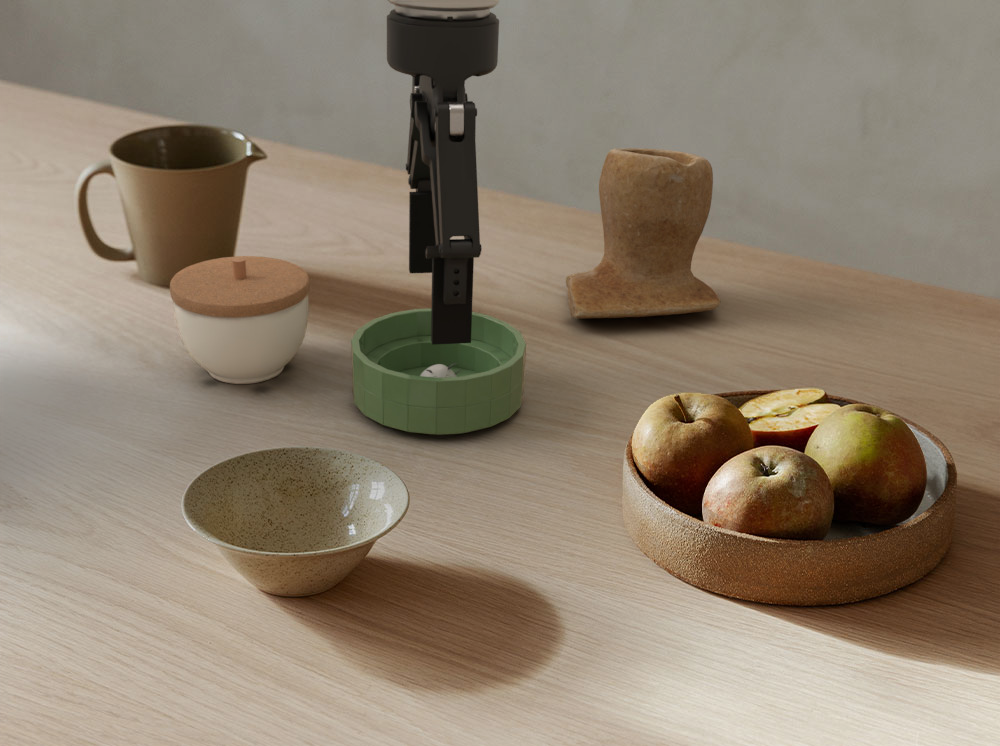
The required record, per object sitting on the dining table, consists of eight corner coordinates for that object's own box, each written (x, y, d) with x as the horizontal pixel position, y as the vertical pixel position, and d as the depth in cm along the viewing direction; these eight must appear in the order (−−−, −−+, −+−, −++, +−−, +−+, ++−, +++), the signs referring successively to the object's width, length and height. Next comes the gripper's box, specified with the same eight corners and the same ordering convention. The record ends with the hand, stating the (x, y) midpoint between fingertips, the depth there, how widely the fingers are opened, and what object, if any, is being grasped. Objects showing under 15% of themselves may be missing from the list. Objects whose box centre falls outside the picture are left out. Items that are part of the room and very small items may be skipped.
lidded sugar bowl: (165, 352, 92) (154, 246, 88) (289, 332, 97) (284, 230, 93) (196, 408, 84) (185, 293, 80) (331, 383, 88) (327, 273, 84)
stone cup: (682, 278, 112) (700, 131, 105) (732, 325, 102) (754, 165, 95) (539, 287, 109) (547, 135, 102) (575, 336, 98) (587, 171, 92)
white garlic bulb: (468, 398, 85) (469, 368, 84) (418, 405, 84) (418, 375, 83) (455, 381, 88) (455, 351, 87) (406, 387, 87) (407, 357, 86)
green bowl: (359, 447, 79) (358, 385, 77) (347, 367, 91) (346, 311, 89) (538, 436, 82) (542, 375, 80) (504, 359, 93) (507, 304, 91)
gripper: (538, 43, 63) (520, 375, 73) (468, -15, 85) (461, 246, 94) (408, 41, 62) (406, 380, 71) (371, -17, 84) (373, 248, 93)
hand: (437, 304), depth 83 cm, fingers open, 13 cm apart
